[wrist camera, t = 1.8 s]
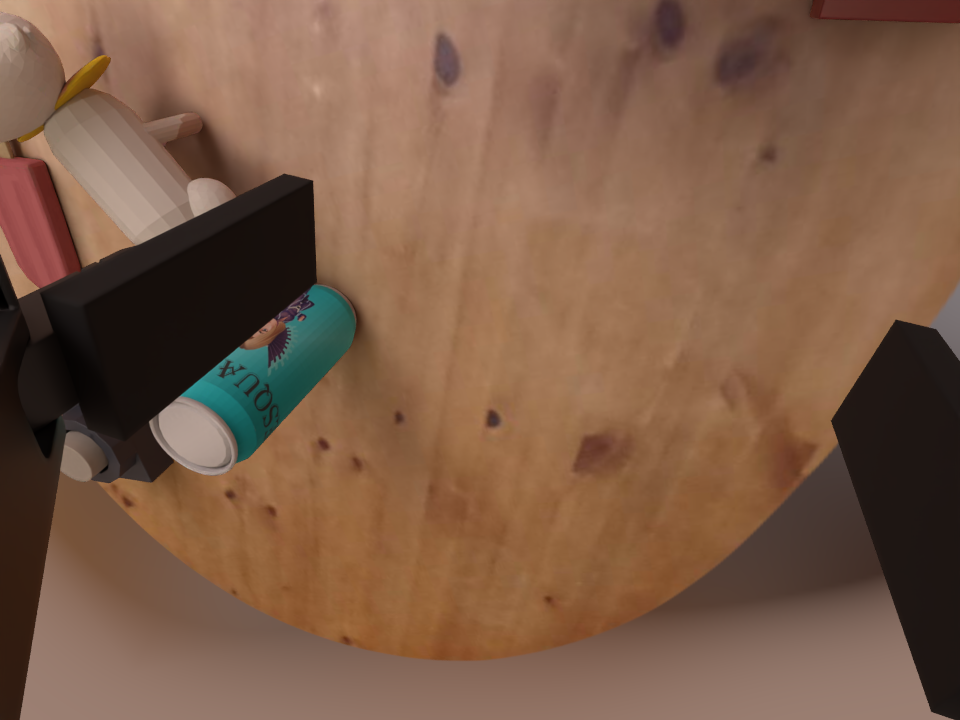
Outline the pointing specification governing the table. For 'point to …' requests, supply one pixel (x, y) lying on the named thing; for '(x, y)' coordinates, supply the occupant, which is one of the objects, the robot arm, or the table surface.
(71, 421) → the button base
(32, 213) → the popsicle
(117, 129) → the toy
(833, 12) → the wooden frame
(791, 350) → the table surface
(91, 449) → the plunger
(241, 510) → the table surface
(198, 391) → the beverage can
